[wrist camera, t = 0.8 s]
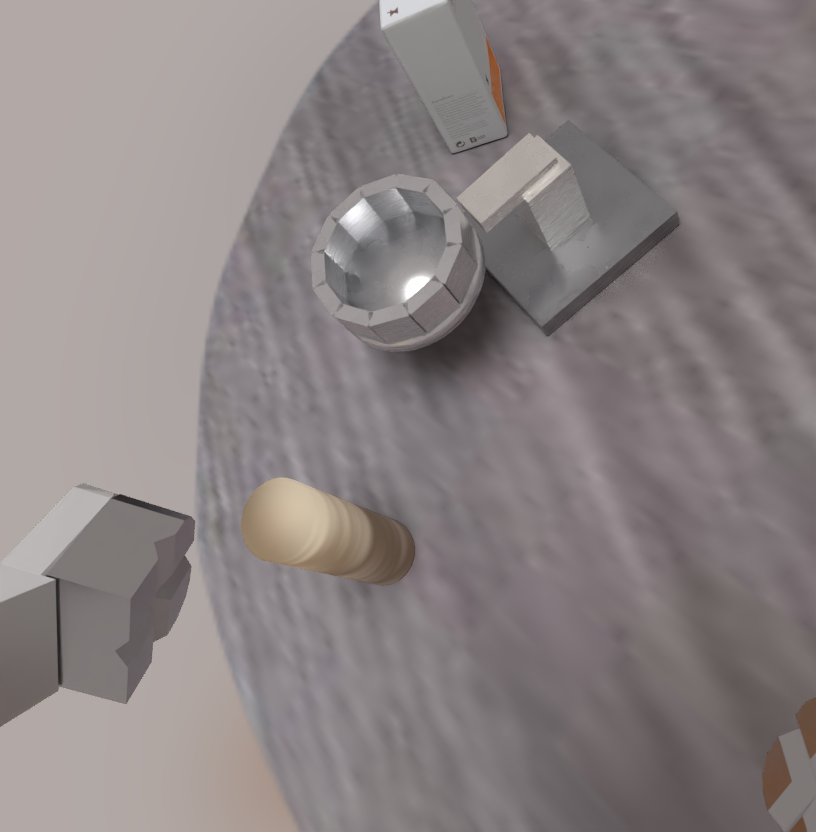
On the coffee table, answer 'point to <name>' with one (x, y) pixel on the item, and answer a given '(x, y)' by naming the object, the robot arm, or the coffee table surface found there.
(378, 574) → the rail post
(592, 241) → the cup bracket
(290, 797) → the coffee table surface
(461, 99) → the skincare box
